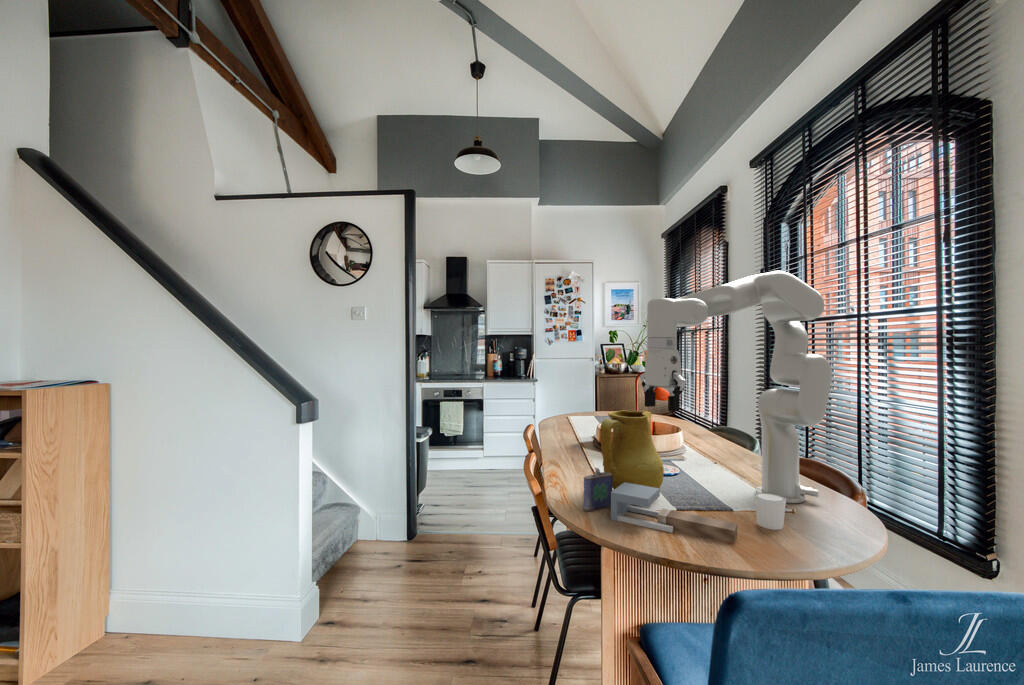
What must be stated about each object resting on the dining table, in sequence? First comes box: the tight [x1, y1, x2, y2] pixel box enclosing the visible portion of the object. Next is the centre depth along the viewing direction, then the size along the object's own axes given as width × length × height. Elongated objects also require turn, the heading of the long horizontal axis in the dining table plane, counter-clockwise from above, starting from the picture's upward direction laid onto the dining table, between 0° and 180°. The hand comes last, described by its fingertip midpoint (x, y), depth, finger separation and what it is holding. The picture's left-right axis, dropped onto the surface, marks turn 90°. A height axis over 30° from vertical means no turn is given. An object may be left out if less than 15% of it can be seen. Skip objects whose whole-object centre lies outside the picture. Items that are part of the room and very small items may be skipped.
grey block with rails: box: [610, 482, 674, 534], centre depth 114 cm, size 15×10×7 cm, turn 57°
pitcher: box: [599, 409, 665, 491], centre depth 132 cm, size 17×19×25 cm
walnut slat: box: [657, 508, 738, 544], centre depth 107 cm, size 17×5×3 cm, turn 57°
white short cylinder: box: [754, 493, 787, 531], centre depth 111 cm, size 7×7×7 cm
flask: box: [583, 467, 613, 513], centre depth 122 cm, size 9×3×11 cm, turn 117°
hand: (661, 408), depth 119 cm, fingers open, 9 cm apart
